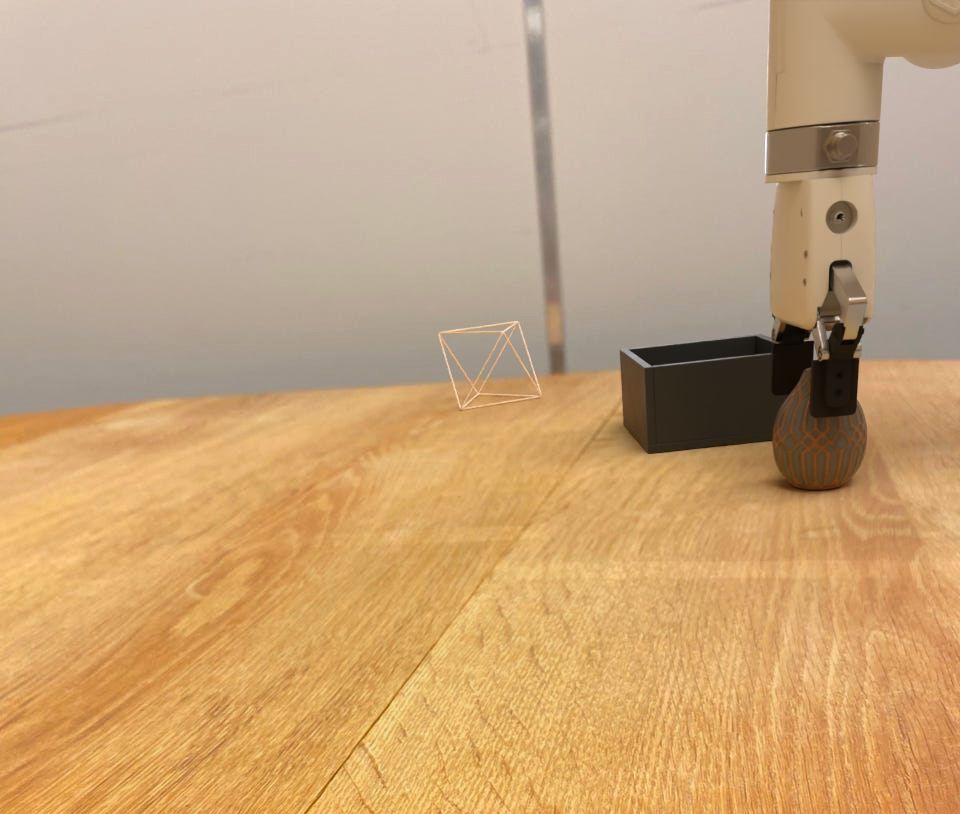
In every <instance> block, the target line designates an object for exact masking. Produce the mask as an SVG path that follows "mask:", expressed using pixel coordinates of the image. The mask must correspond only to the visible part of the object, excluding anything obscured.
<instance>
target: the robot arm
mask: <svg viewBox="0 0 960 814" xmlns="http://www.w3.org/2000/svg"><path fill="white" fill-rule="evenodd" d="M767 25H768V26H767V27H768V28H767V29H768V30H767V31H768V32H767V66H766V67H767V70H766V71H767V73H766V110H765V111H766V112H765V114H766V116H765V131H766V133H765V152H764V153H765V155H764V156H765V157H764V184H775V194H774V204H773V210H772V215H773V216H772V227H771V229H772V230H771V241H770V242H771V243H770V257H769V258H770V260H769V261H770V262H769V307H770V312H771V316H772V318H773V321H774V322H773V325H772V328H771V334H770V335H771V338H772V342H773V343H775V344H772V351H771V388H770V390H771V393H772V394H773V395H776V396H779V395H789V394H790V393H791V392H792V390H793V389H794V388H795V387H796V385H797V384H798V382H799V380H800V378H801V375H802V373H803V371H804V370H805V369H807V368H811V386H810V410H809V412H810V415H811V416H812V417H814V418H824V417H836V416H848V415H853V414H854V413H855V412H856V409H857V400H858V390H859V389H858V388H859V372H860V358H861V356H862V353H863V352H862V351H863V349H862V342H861V340H862V338H863V335H865V327H864V326H865V325H868V324H869V323H870V322H871V320H872V319H873V317H874V315H875V303H876V302H875V301H876V253H877V251H876V250H877V247H876V246H877V244H876V243H877V242H876V241H877V240H876V239H877V238H876V237H877V235H876V233H877V232H876V231H877V229H876V228H877V227H876V225H877V224H876V223H877V222H876V204H875V203H876V202H875V191H874V189H875V188H874V182H873V175H877V174H878V163H879V145H880V131H881V130H880V129H881V122H880V121H881V114H882V113H881V112H882V111H881V110H882V95H883V94H882V93H883V77H884V64H885V60H886V59H887V58H902V59H904V60H905V61H907V62H908V63H910V64H912V65H914V66H915V67H919V68H921V69H922V68H923V69H928V70H941V69H946V68H950V67H951V68H952V67H953V66H956V65H959V64H960V0H768V24H767ZM827 332H830V334H829V336H828V335H827ZM811 334H812V338H813V340H810V338H811ZM814 353H816V354H814ZM814 355H816V359H814Z"/></svg>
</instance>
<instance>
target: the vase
mask: <svg viewBox="0 0 960 814" xmlns="http://www.w3.org/2000/svg"><path fill="white" fill-rule="evenodd" d="M810 386H811V368H807V369H805V370H804V371H803V373H802V375H801V378H800V380H799V382H798V384H797V385H796V387H795V388H794V389H793V390H792V392H791V393H790V394H789V396H788V397H787V398H786V400H785V401H784V403H783V404H782V406H781V407H780V409H779V411H778V414H777V416H776V420H775V423H774V427H773V435H772V440H771V441H772V442H771V443H772V454H773V458H774V461H775V465H776V467H777V469H778V471H779V473H780V474H781V476H782V477H783V478H784V479H785V480H786V481H787V483H789V484H790V485H791V486H792V487H794V488H798V489H802V490H811V491H813V490H814V491H818V490H830V489H835V488H839V487H842V486H844V485H846V484H847V483H848V482H849V481H850V480H851V479H852V478H853V477H854V476H855V475H856V473H857V472H858V470H859V469H860V467H861V465H862V463H863V460H864V457H865V454H866V450H867V444H868V425H867V420H866V416H865V412H864V410H863V407H862V405H861V402H860V401H859V400H858V399H857V409H856V412H855V413H854V414H853V415H848V416H836V417H824V418H814V417H812V416H811V415H810V412H809V410H810Z"/></svg>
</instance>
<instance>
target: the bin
mask: <svg viewBox="0 0 960 814" xmlns="http://www.w3.org/2000/svg"><path fill="white" fill-rule="evenodd" d="M772 344H775V343H773V342H772V337H770V336H767V335H765V334H762V333H758V334H748V335H741V336H740V335H739V336H730V337H722V338H711V339H703V340H702V339H701V340H694V341H685V342H684V341H683V342H675V343H667V344H666V343H665V344H658V345H656V344H655V345H648V346H647V345H646V346H639V347H630V348H621V349H619V362H620V382H621V383H620V385H621V402H622V403H621V404H622V405H621V406H622V422H623V426H624V427H625V428H626V430H627V431H628V432H629V433H630V434H631V435H632V437H634V439H635V440H636V441H637V442H638V443H639V444H640V446H641V447H642V448H643V450H645V451H646V453H647V454H656V453H657V454H658V453H667V452H676V451H685V450H695V449H704V448H714V447H722V446H731V445H740V444H751V443H759V442H760V443H761V442H768V441H769V442H770V441H772V435H773V427H774V423H775V420H776V416H777V414H778V411H779V409H780V407H781V406H782V404H783V403H784V401H785V400H786V398H787V397H788V396H789V395H779V396H776V395H773V394H772V393H771V390H770V388H771V351H772Z"/></svg>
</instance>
